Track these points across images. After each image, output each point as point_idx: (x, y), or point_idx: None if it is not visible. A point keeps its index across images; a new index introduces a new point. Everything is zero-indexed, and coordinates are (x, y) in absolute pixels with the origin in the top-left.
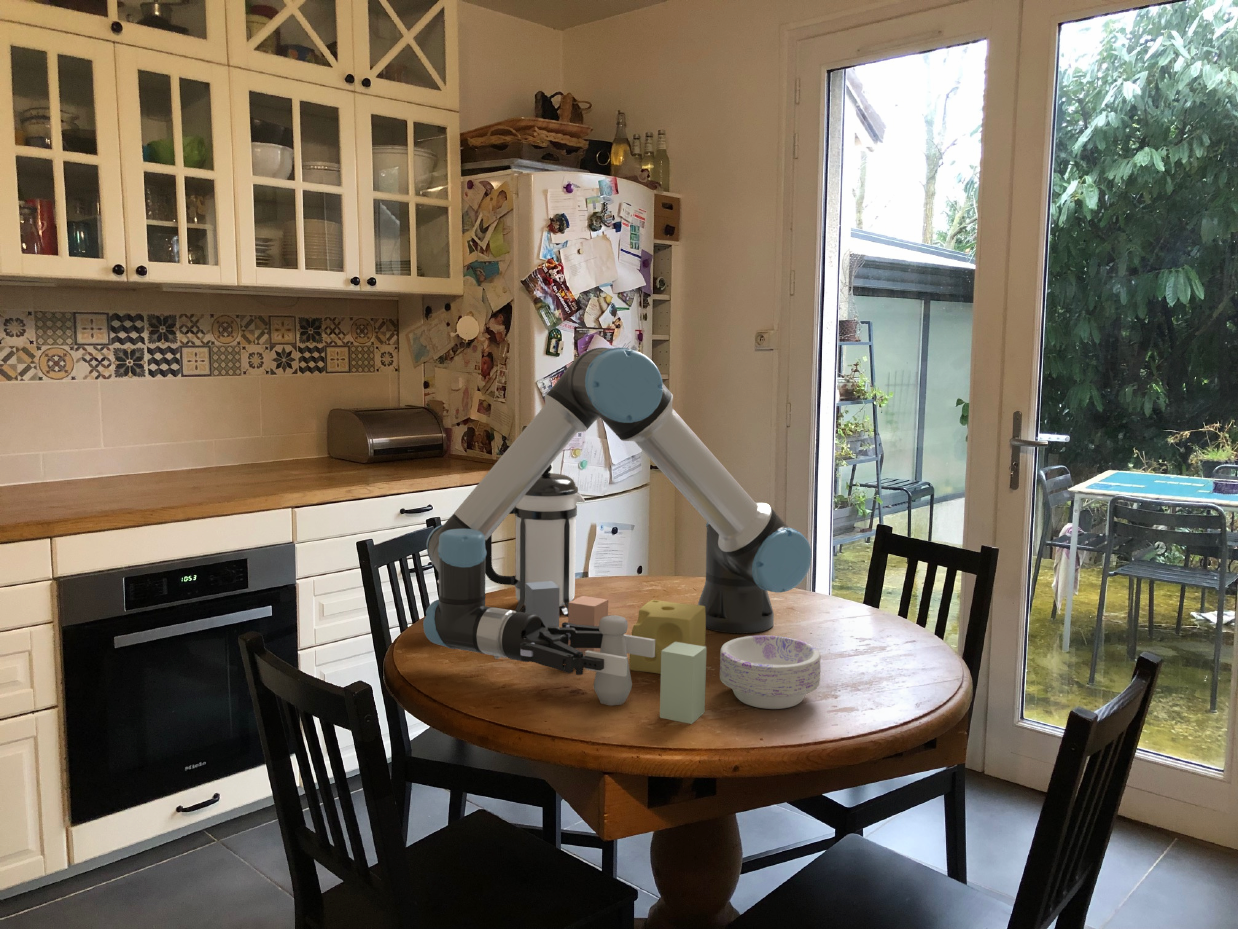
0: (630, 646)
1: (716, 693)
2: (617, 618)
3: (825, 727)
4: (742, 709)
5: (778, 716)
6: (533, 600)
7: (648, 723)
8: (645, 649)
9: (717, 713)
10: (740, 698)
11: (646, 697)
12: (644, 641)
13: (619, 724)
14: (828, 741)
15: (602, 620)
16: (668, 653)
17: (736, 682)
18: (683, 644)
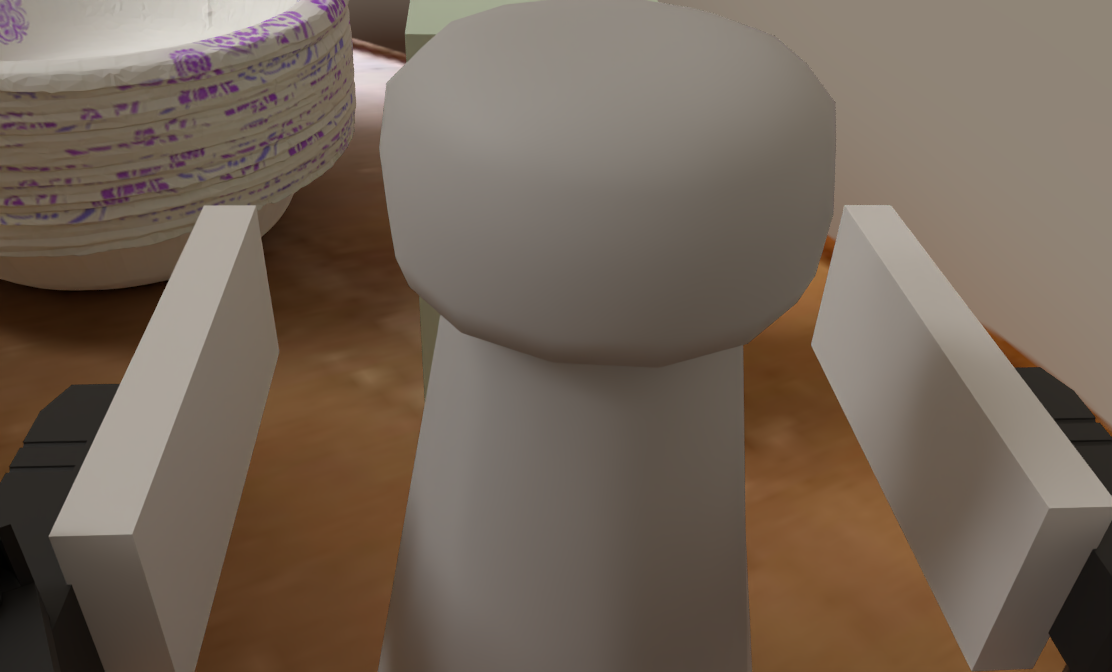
0: (219, 457)
1: (118, 359)
2: (629, 5)
3: (368, 96)
4: (312, 247)
5: (333, 170)
6: None
7: (746, 454)
8: (254, 342)
9: (413, 293)
10: None
11: (348, 622)
12: (241, 277)
13: (890, 560)
14: None
15: (796, 117)
16: None
17: (322, 131)
18: (442, 6)
